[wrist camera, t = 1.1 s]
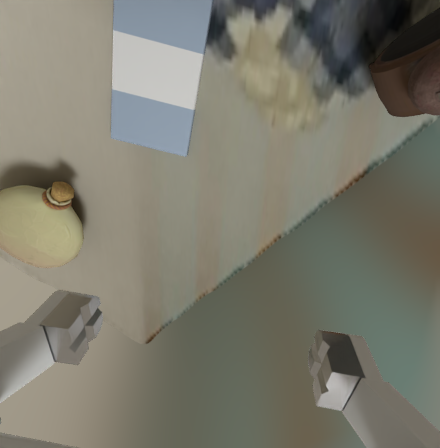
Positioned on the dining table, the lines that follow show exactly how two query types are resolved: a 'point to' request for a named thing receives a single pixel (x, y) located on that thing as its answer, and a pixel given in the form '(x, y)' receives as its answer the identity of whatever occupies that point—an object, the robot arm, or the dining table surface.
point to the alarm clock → (411, 70)
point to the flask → (40, 225)
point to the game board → (157, 70)
